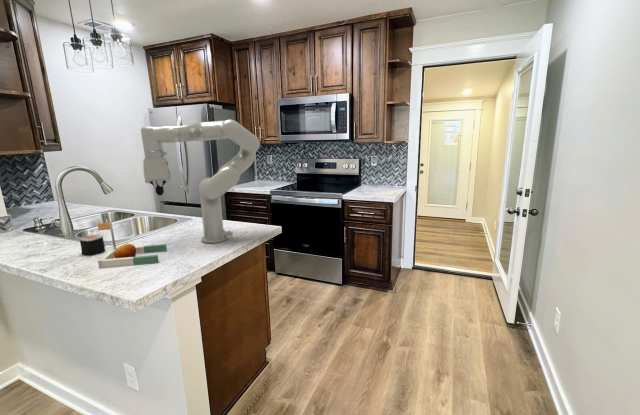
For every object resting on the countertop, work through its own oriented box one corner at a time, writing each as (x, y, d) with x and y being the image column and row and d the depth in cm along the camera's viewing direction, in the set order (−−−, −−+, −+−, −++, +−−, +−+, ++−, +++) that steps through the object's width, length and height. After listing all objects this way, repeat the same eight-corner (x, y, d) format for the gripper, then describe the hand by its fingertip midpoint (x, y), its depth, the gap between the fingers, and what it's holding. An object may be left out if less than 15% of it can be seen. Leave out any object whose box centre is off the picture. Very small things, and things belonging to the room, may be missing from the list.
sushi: (89, 257, 133) (86, 239, 131) (79, 254, 136) (75, 237, 135) (108, 251, 140) (106, 234, 138) (98, 248, 143) (95, 232, 142)
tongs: (166, 250, 140) (162, 219, 136) (157, 262, 125) (152, 228, 122) (104, 255, 134) (98, 223, 131) (87, 269, 120) (80, 233, 116)
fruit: (132, 260, 125) (120, 244, 123) (118, 269, 126) (106, 253, 125) (145, 253, 132) (134, 238, 131) (132, 261, 134) (121, 246, 133)
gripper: (173, 153, 141) (179, 192, 145) (138, 155, 137) (144, 194, 141) (170, 154, 134) (176, 195, 138) (133, 156, 130) (140, 197, 134)
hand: (160, 194), depth 140 cm, fingers closed
